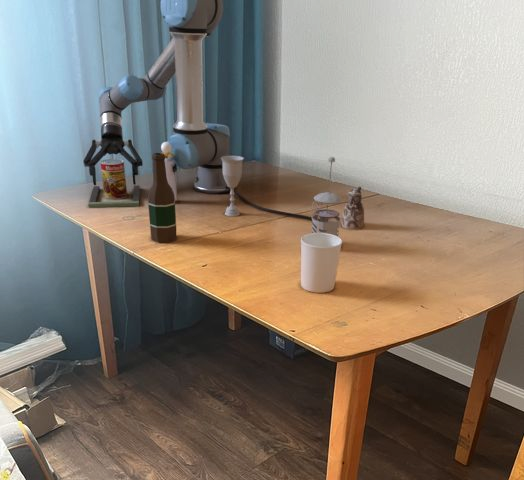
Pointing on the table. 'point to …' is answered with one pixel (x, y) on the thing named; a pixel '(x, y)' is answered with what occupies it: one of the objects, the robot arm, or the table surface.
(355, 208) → the figurine
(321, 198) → the french press
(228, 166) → the chalice
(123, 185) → the canned food
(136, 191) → the tray
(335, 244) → the white cup
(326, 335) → the table surface
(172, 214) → the beer bottle
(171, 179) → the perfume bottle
